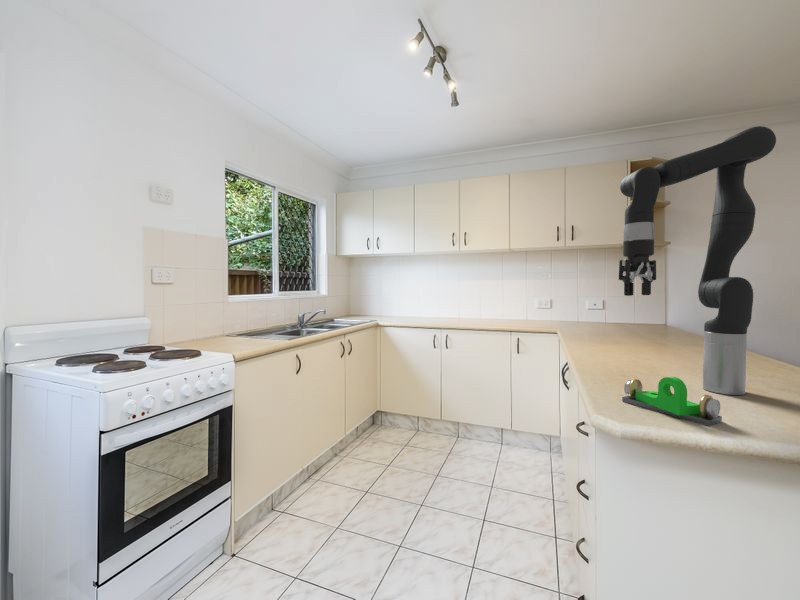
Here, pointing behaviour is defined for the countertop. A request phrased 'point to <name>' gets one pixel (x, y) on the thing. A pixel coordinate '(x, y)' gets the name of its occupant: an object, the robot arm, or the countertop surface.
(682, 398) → the mechanical part
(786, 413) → the countertop surface
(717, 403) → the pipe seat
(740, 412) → the countertop surface
